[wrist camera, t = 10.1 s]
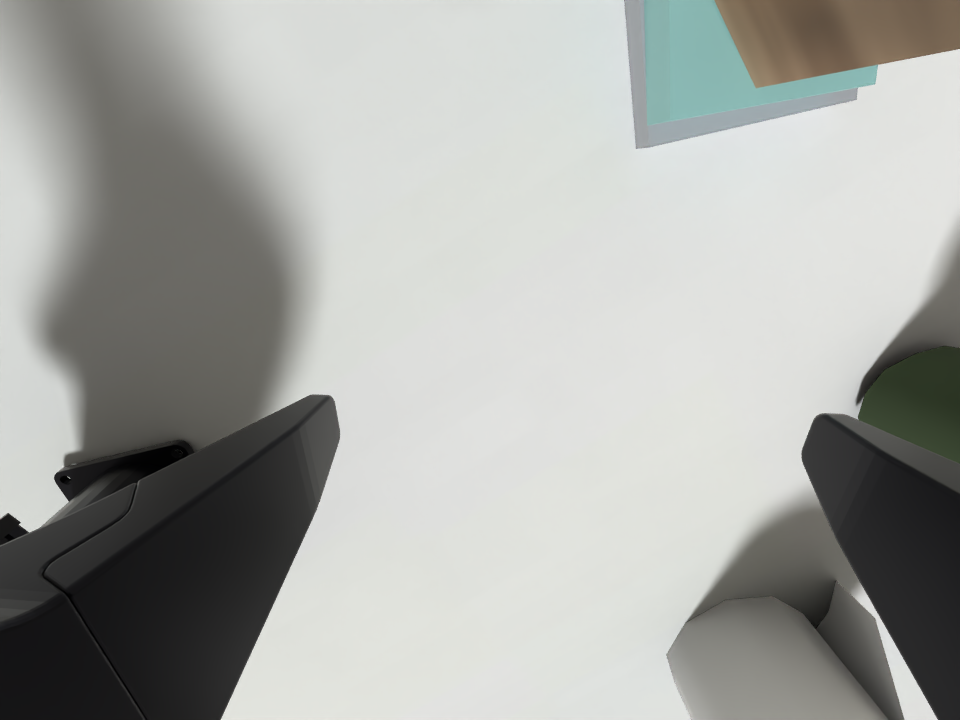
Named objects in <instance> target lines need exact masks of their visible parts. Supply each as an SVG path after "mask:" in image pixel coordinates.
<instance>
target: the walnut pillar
mask: <svg viewBox="0 0 960 720" xmlns="http://www.w3.org/2000/svg"><path fill="white" fill-rule="evenodd" d="M714 1H715V3H716V5H717V7H718V9H719V12H720V14H721V16H722V18H723V20H724V22H725V24H726V26H727V28H728V31H729V33H730V35H731V37H732V39H733V41H734V43H735V45H736V48H737V50H738V52H739V54H740V56H741V58H742V60H743V62H744V64H745V67H746V69H747V71H748V73H749V75H750V77H751V79H752V81H753V83H754V85H755V88H760V87H765V86H770V85H776V84H781V83H786V82H791V81H796V80H801V79H807V78H812V77H817V76H822V75H827V74H832V73H838V72H843V71H848V70H853V69H858V68H863V67H868V66H874V65H879V64H884V63H889V62H894V61H899V60H905V59H910V58H915V57H920V56H925V55H930V54H936V53H941V52H946V51H951V50H956V49H960V0H714Z"/></svg>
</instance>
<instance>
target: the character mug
mask: <svg viewBox="0 0 960 720" xmlns="http://www.w3.org/2000/svg"><path fill="white" fill-rule="evenodd" d="M858 419H859V421H862V422H864V423H866V424H869V425H871V426H873V427H876V428H878V429H880V430H883V431H885V432H887V433H889V434H892V435H894V436H896V437H899V438H901V439H903V440H906V441H908V442H910V443H913V444H915V445H917V446H919V447H922V448H924V449H926V450H929V451H931V452H933V453H936V454H938V455H940V456H943V457H945V458H947V459H949V460H952V461H954V462H956V463H959V464H960V348H955V347H949V346H942V347H939V348H935V349H931V350H928V351H924V352H920V353H917V354H914V355H912V356H910V357H908V358H906V359H905V360H903V361H901V362H899V363H897V364H895V365H893V366H891V367H889V368H887V369H885V370H884V371H883V372H882V374H881V375H880V376H879V377H878V378H877V380H876V381H875V382H874V383H873V385H872V386H871V387H870V388H869V390H868V391H867V392H866V393H865V396H864V399H863V402H862V406H861V409H860V412H859V415H858Z"/></svg>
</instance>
